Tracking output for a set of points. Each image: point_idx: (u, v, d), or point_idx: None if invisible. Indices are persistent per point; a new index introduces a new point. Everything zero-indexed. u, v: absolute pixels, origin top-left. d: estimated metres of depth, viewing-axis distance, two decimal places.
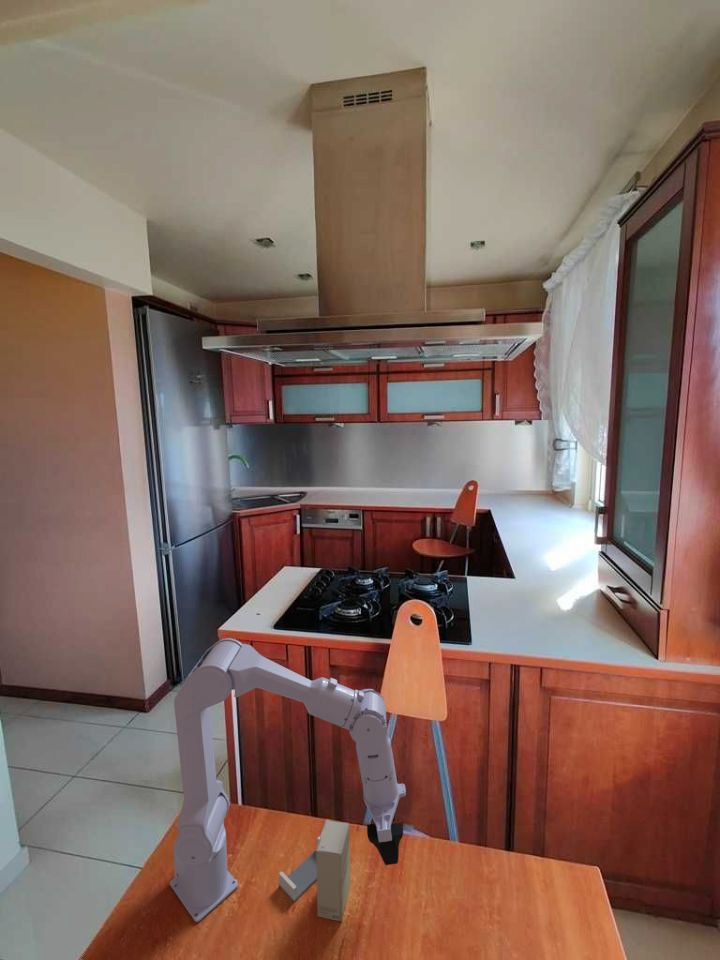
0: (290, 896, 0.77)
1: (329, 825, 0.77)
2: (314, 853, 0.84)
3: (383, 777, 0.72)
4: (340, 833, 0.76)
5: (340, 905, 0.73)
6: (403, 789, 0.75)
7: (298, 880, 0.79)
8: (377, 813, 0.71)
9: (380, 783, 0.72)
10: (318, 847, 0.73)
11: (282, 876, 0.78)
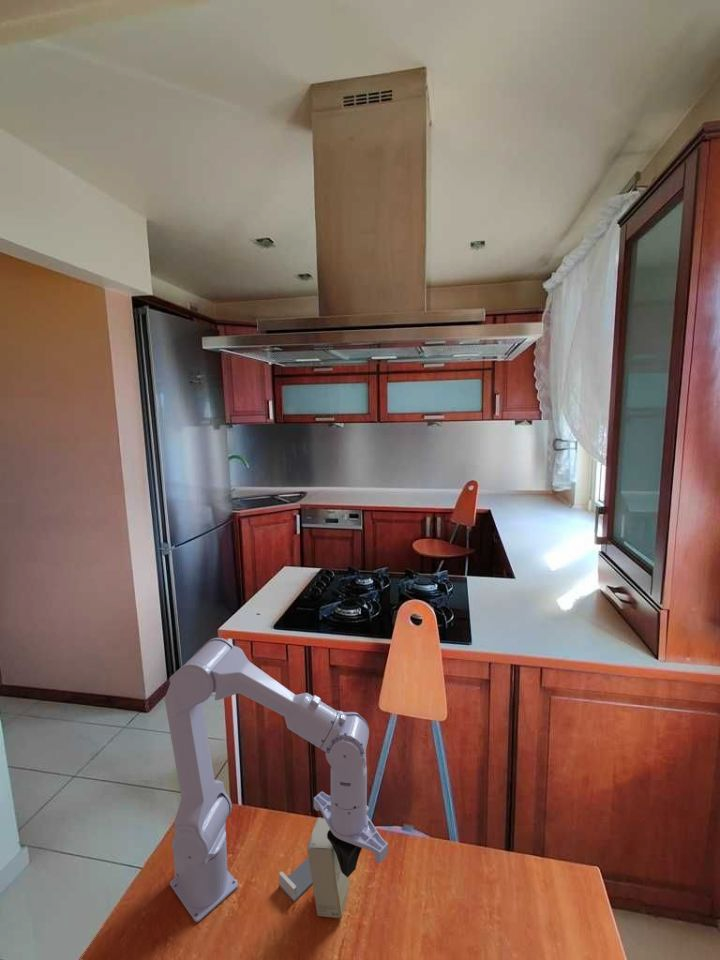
0: (290, 896, 0.77)
1: (320, 823, 0.78)
2: None
3: (352, 807, 0.69)
4: None
5: (337, 901, 0.73)
6: None
7: (298, 880, 0.79)
8: (361, 839, 0.69)
9: (363, 806, 0.70)
10: (309, 844, 0.74)
11: (282, 876, 0.78)
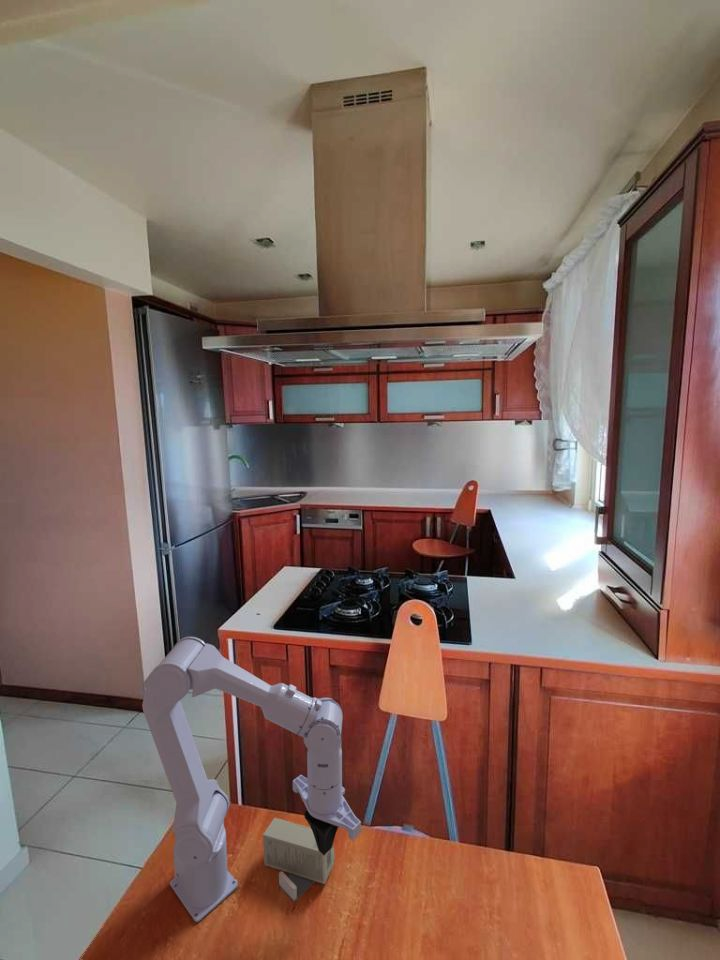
0: (290, 896, 0.77)
1: None
2: None
3: (329, 787, 0.72)
4: None
5: None
6: None
7: (298, 880, 0.79)
8: (336, 818, 0.73)
9: (338, 786, 0.73)
10: None
11: (282, 876, 0.78)
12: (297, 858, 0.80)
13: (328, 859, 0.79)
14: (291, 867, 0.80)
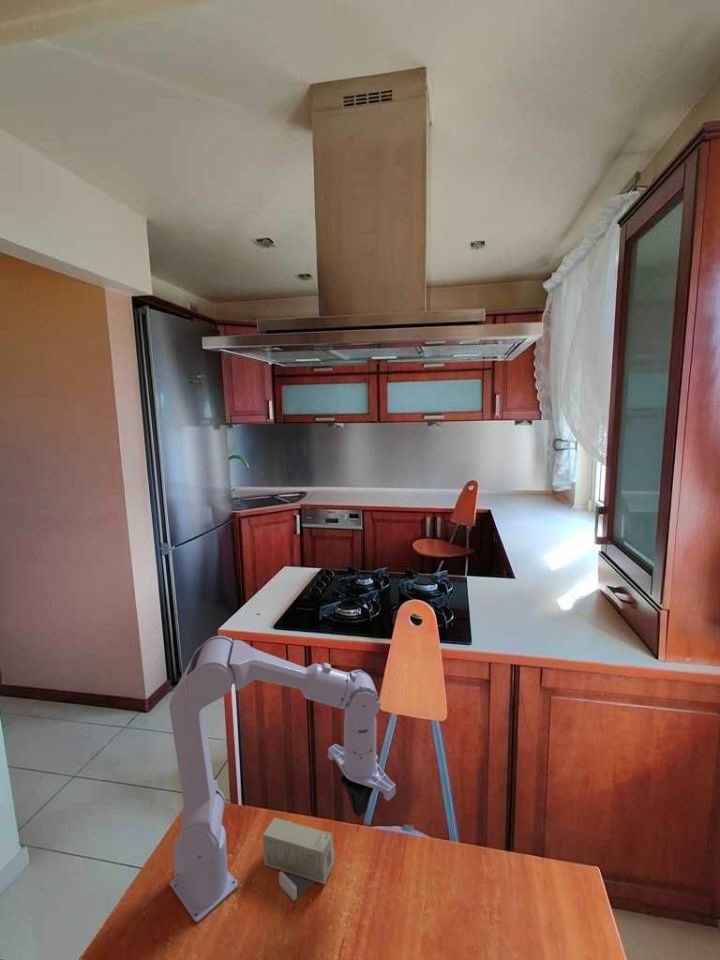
0: (290, 896, 0.77)
1: None
2: None
3: (368, 751, 0.77)
4: None
5: (317, 829, 0.82)
6: None
7: (298, 880, 0.79)
8: (372, 781, 0.78)
9: (373, 752, 0.78)
10: None
11: (282, 876, 0.78)
12: (297, 858, 0.80)
13: (328, 859, 0.79)
14: (291, 867, 0.80)
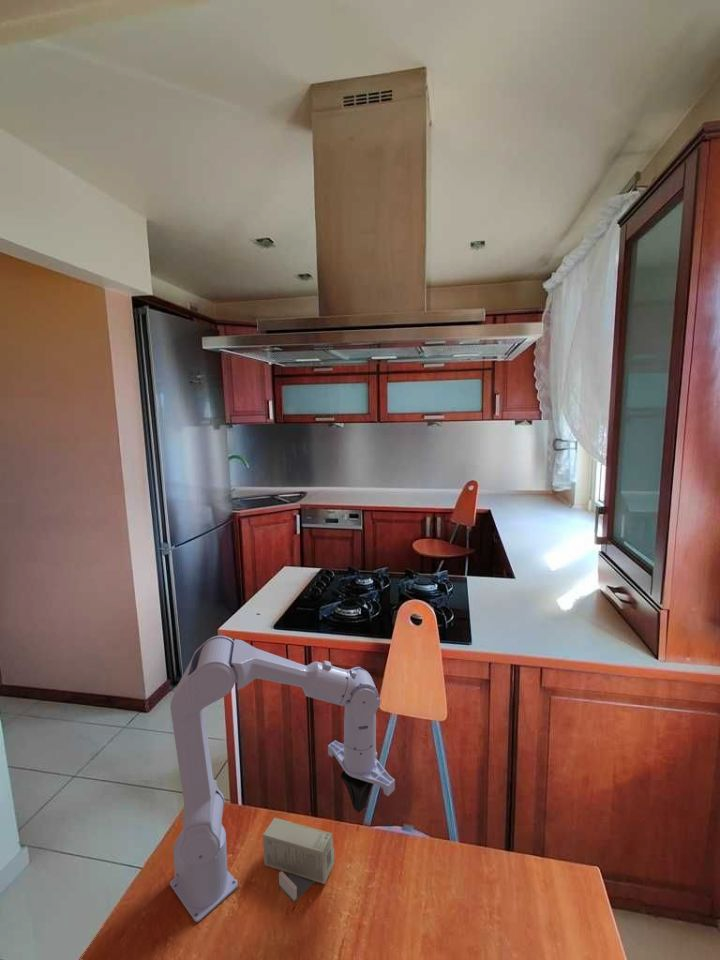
0: (290, 896, 0.77)
1: None
2: None
3: (368, 747, 0.79)
4: None
5: (317, 829, 0.82)
6: None
7: (298, 880, 0.79)
8: (371, 777, 0.79)
9: (373, 748, 0.79)
10: None
11: (282, 876, 0.78)
12: (297, 858, 0.80)
13: (328, 859, 0.79)
14: (291, 867, 0.80)
